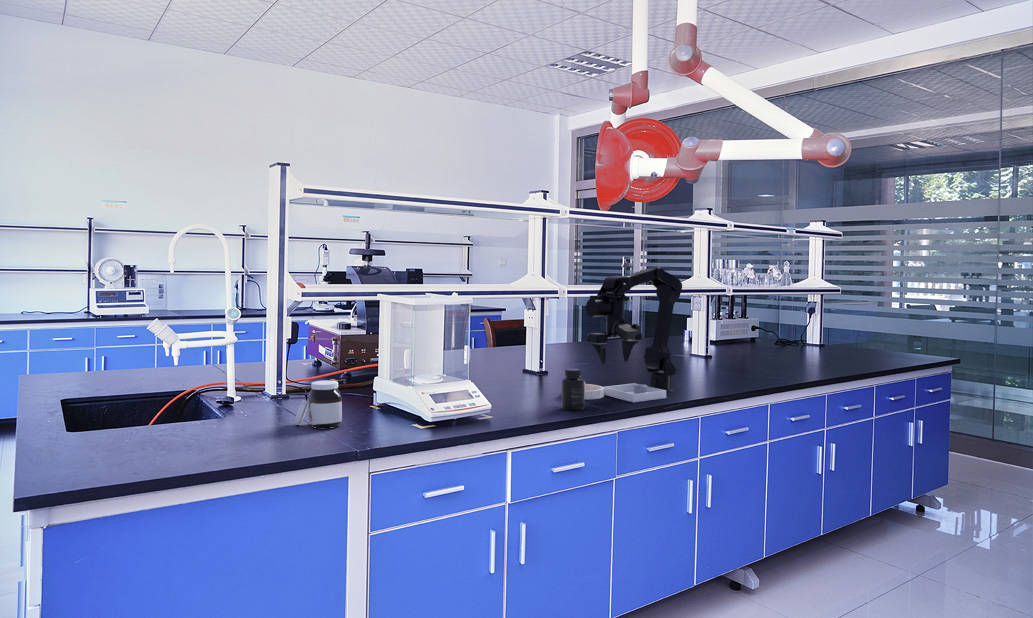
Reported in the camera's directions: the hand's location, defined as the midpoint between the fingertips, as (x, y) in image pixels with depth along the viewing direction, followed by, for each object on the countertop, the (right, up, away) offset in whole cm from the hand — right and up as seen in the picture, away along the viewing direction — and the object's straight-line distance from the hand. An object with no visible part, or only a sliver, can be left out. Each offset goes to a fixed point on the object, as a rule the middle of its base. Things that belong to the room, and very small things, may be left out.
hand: (614, 362), depth 217 cm
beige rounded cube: (-12, -11, +3) cm, 16 cm away
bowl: (-10, -11, +1) cm, 15 cm away
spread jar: (-85, -14, -42) cm, 95 cm away
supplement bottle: (-15, -13, -17) cm, 26 cm away
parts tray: (+6, -12, +1) cm, 13 cm away
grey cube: (+8, -11, -2) cm, 14 cm away
